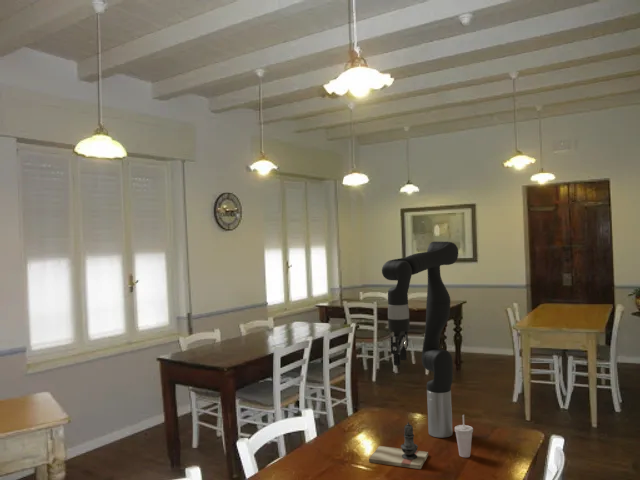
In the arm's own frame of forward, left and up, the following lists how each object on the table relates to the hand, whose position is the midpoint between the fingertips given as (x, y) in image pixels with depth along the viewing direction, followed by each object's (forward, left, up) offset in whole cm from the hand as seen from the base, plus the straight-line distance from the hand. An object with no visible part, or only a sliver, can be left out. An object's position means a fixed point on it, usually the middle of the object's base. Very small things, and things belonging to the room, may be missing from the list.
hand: (400, 362), depth 192 cm
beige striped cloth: (+3, -1, -33) cm, 33 cm away
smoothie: (-7, +20, -33) cm, 39 cm away
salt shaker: (+3, +3, -32) cm, 32 cm away
